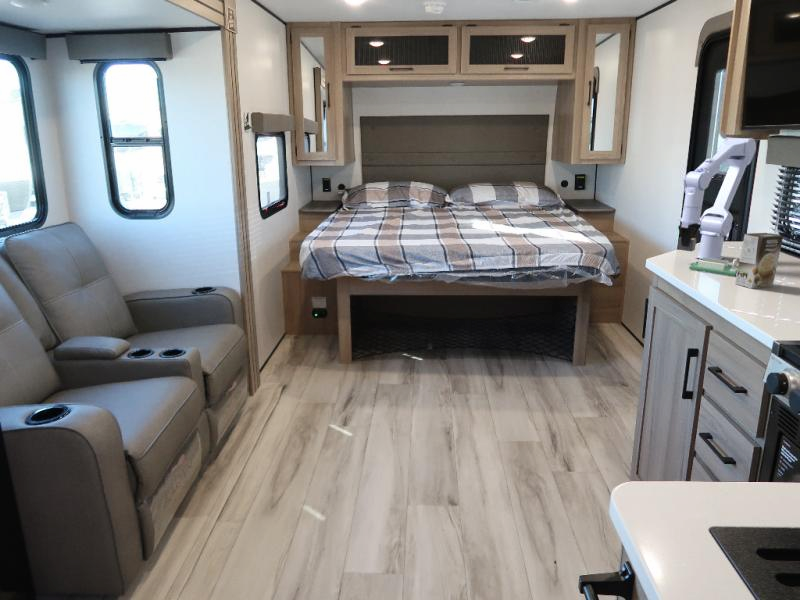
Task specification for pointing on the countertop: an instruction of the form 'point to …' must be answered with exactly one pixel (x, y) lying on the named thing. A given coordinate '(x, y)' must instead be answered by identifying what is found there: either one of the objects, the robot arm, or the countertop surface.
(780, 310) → the countertop surface
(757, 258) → the coffee box
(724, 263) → the board
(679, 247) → the plug
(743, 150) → the robot arm
